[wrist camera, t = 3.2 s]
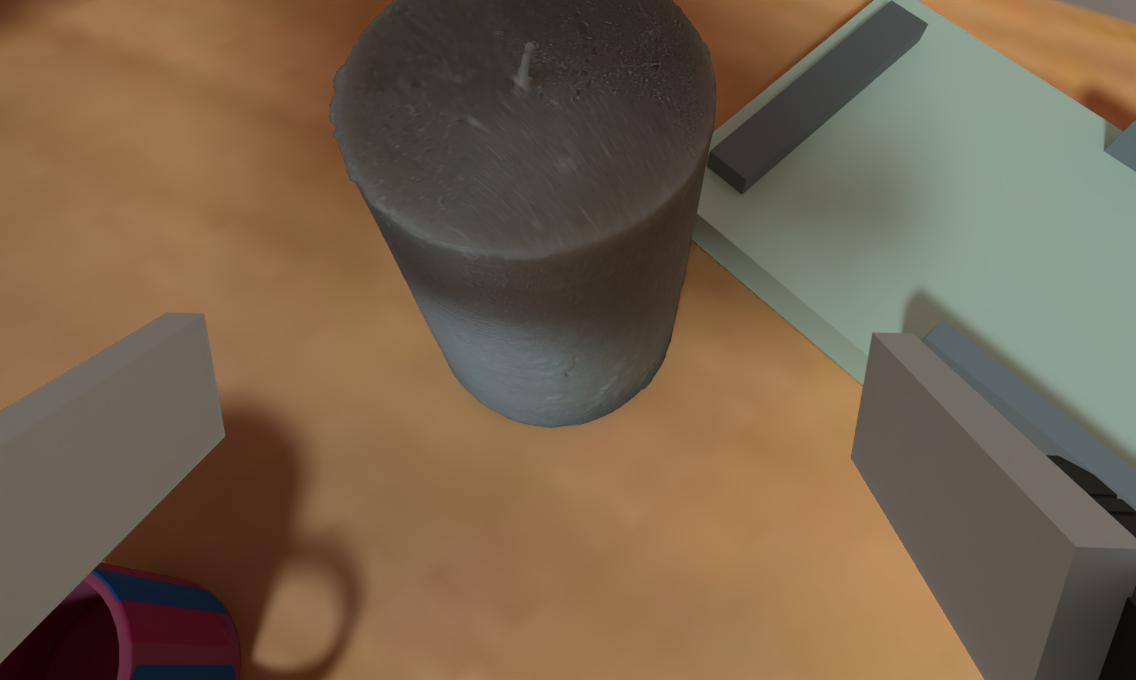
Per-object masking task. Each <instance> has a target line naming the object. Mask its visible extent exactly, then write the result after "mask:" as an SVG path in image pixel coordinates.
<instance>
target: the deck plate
mask: <svg viewBox="0 0 1136 680" xmlns="http://www.w3.org/2000/svg"><path fill="white" fill-rule="evenodd" d="M691 239H692V240H693V241H694V242H695V243H696V244H697V245H699V246H700V247H701V248H702V249H703V250H704V251H706V252H707V253H708V254H709V255H710V256H712V257H713V258H714V259H715V260H716V261H717V262H719V263H720V264H721V265H722V266H723V267H724V268H726V269H727V270H728V271H729V272H730V273H731V274H733V275H734V276H735V277H736V278H737V279H739V280H740V281H741V282H742V283H743V284H744V285H746V286H747V287H748V288H749V289H750V290H751V291H753V292H754V293H755V294H756V295H757V296H758V297H760V298H761V299H762V300H763V301H764V302H766V303H767V304H768V305H769V306H770V307H771V308H773V309H774V310H775V311H776V312H777V313H778V314H780V315H781V316H782V317H783V318H784V319H785V320H787V321H788V322H789V323H790V324H791V325H793V326H794V327H795V328H796V329H797V330H798V331H800V332H801V333H802V334H803V335H804V336H805V337H807V338H808V339H809V340H810V341H811V342H813V343H814V344H815V345H816V346H817V347H818V348H820V349H821V350H822V351H823V352H824V353H825V354H827V355H828V356H829V357H830V358H831V359H832V360H834V361H835V362H836V363H837V364H838V365H840V366H841V367H842V368H843V369H844V370H845V371H847V372H848V373H849V374H850V375H851V376H852V377H854V378H855V379H856V380H857V381H858V382H859V383H861V384H862V385H863V384H864V378H865V372H866V366H867V361H868V355H869V349H870V343H871V337H872V332H880V333H913V334H914V335H915V336H916V337H917V338H918V339H920V340H921V341H922V342H923V343H924V344H925V345H926V346H927V347H928V348H929V349H930V350H932V351H933V352H934V353H935V354H936V355H937V356H938V357H939V358H940V359H941V360H942V361H943V362H945V363H946V364H947V365H948V366H949V367H950V368H951V369H952V370H953V371H954V372H955V373H957V374H958V375H959V376H960V377H961V378H962V379H963V380H964V381H965V382H966V383H967V384H969V385H970V386H971V387H972V388H973V389H974V390H975V391H976V392H977V393H978V394H979V395H981V396H982V397H983V398H984V399H985V400H986V401H987V402H988V403H989V404H990V405H991V406H993V407H994V408H995V409H996V410H997V411H998V412H999V413H1000V414H1001V415H1002V416H1003V417H1004V418H1006V419H1007V420H1008V421H1009V422H1010V423H1011V424H1012V425H1013V426H1014V427H1015V428H1016V429H1018V430H1019V431H1020V432H1021V433H1022V434H1023V435H1024V436H1025V437H1026V438H1027V439H1028V440H1030V441H1031V442H1032V443H1033V444H1034V445H1035V446H1036V447H1037V448H1038V449H1039V450H1040V451H1042V452H1043V453H1044V454H1045V455H1057V456H1060V457H1062V458H1064V459H1066V460H1068V461H1070V462H1072V463H1074V464H1075V465H1077V466H1079V467H1081V468H1083V469H1085V470H1087V471H1089V472H1091V473H1092V474H1094V475H1095V476H1096V477H1097V478H1098V479H1100V480H1101V481H1102V482H1103V483H1104V484H1105V485H1107V486H1108V487H1109V488H1110V489H1111V490H1112V491H1113V492H1115V493H1116V494H1117V498H1118V499H1123V500H1124V501H1125V502H1126V503H1127V504H1128V505H1130V506H1131V507H1132V508H1133V509H1134V510H1135V511H1136V119H1135V120H1134V121H1133V122H1132V123H1131V124H1130V125H1129V126H1128V127H1127V128H1126V129H1125V130H1124V131H1122V130H1121V129H1119V128H1117V127H1116V126H1114V125H1113V124H1111V123H1110V122H1108V121H1106V120H1105V119H1103V118H1102V117H1100V116H1098V115H1097V114H1095V113H1094V112H1092V111H1091V110H1089V109H1087V108H1086V107H1084V106H1083V105H1081V104H1080V103H1078V102H1076V101H1075V100H1073V99H1072V98H1070V97H1069V96H1067V95H1065V94H1064V93H1062V92H1061V91H1059V90H1058V89H1056V88H1054V87H1053V86H1051V85H1050V84H1048V83H1047V82H1045V81H1043V80H1042V79H1040V78H1039V77H1037V76H1036V75H1034V74H1032V73H1031V72H1029V71H1028V70H1026V69H1025V68H1023V67H1021V66H1020V65H1018V64H1017V63H1015V62H1013V61H1012V60H1010V59H1009V58H1007V57H1006V56H1004V55H1002V54H1001V53H999V52H998V51H996V50H995V49H993V48H991V47H990V46H988V45H987V44H985V43H984V42H982V41H980V40H979V39H977V38H976V37H974V36H973V35H971V34H969V33H968V32H966V31H965V30H963V29H962V28H960V27H958V26H957V25H955V24H954V23H952V22H951V21H949V20H947V19H946V18H944V17H943V16H941V15H940V14H938V13H936V12H935V11H933V10H932V9H930V8H929V7H927V6H925V5H924V4H922V3H921V2H919V1H917V0H874V1H872V2H871V3H870V4H869V5H867V6H866V7H865V8H864V9H863V10H861V11H860V12H859V13H858V14H857V15H855V16H854V17H853V18H852V19H850V20H849V21H848V22H847V23H846V24H844V25H843V26H842V27H841V28H839V29H838V30H837V31H836V32H835V33H833V34H832V35H831V36H830V37H829V38H827V39H826V40H825V41H824V42H822V43H821V44H820V45H819V46H818V47H816V48H815V49H814V50H813V51H811V52H810V53H809V54H808V55H807V56H805V57H804V58H803V59H802V60H800V61H799V62H798V63H797V64H796V65H794V66H793V67H792V68H791V69H790V70H788V71H787V72H786V73H785V74H783V75H782V76H781V77H780V78H779V79H777V80H776V81H775V82H774V83H772V84H771V85H770V86H769V87H768V88H766V89H765V90H764V91H763V92H762V93H760V94H759V95H758V96H757V97H755V98H754V99H753V100H752V101H751V102H749V103H748V104H747V105H746V106H744V107H743V108H742V109H741V110H740V111H738V112H737V113H736V114H735V115H734V116H732V117H731V118H730V119H729V120H727V121H726V122H725V123H724V124H723V125H721V126H720V127H719V128H718V129H716V130H715V131H714V132H713V135H712V139H711V143H710V148H709V153H708V160H707V164H706V169H705V174H704V179H703V185H702V190H701V195H700V200H699V206H698V211H697V214H696V219H695V224H694V229H693V233H692V238H691Z"/></svg>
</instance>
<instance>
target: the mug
mask: <svg viewBox="0 0 1136 680" xmlns="http://www.w3.org/2000/svg"><path fill="white" fill-rule="evenodd" d="M239 673H240V646H239V641H238V637H237V632H236V629H235V626H234V624H233V622H232V619H231V617H230V615H229V614H228V612H227V611H226V609H225V608H224V606H223V605H222V603H221V602H220V601H219V600H218V599H217V598H216V597H214V596H213V595H212V594H211V593H210V592H209V591H207V590H205V589H204V588H202V587H200V586H199V585H197V584H194V583H191V582H189V581H186V580H183V579H178V578H173V577H168V576H163V575H158V574H153V573H148V572H144V571H139V570H134V569H129V568H124V567H119V566H114V565H109V564H105V563H99V564H98V565H97V566H96V567H95V568H94V569H93V570H92V571H91V572H90V573H89V574H88V575H87V576H86V577H85V578H84V579H83V580H82V581H81V582H80V583H79V585H78V586H77V587H76V588H75V589H74V590H73V591H72V592H71V593H70V594H69V595H68V596H67V597H66V598H65V599H64V600H63V601H62V602H61V603H60V604H59V605H58V606H57V607H56V608H55V609H54V610H53V611H52V612H51V613H50V614H49V615H48V616H47V617H46V618H45V619H44V620H43V621H42V622H41V623H40V624H39V625H38V626H37V627H36V628H35V629H34V630H33V631H32V632H31V633H30V634H29V635H28V636H27V637H26V638H25V639H24V640H23V641H22V642H21V643H20V644H19V645H18V646H17V647H16V648H15V649H14V650H13V651H12V652H11V653H10V654H9V655H8V656H7V657H6V658H5V659H4V660H3V661H2V662H1V663H0V680H239Z"/></svg>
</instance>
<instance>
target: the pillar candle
mask: <svg viewBox="0 0 1136 680" xmlns="http://www.w3.org/2000/svg"><path fill="white" fill-rule="evenodd" d="M333 82H334V85H333V87H334V89H335V91H336V92H335V95H334V96H333V97H332V101H331V103H330V115H329V117H330V120H331V123H332V124H333V125H334V126H335V131H334V133H333V137H334V138H335V139H336V140H337V141H338V143H339V148H340V151H341V153H342V155H343V158H344V161H345V164H346V166H347V173H348V175H349V178H350V180H351V181H354V182H356V184H357V186H358V188H359V190H360V192H361V194H362V196H363V198H364V200H365V202H366V204H367V205H368V207H369V209H370V211H371V213H372V215H373V217H374V219H375V221H376V223H377V225H378V227H379V229H380V231H381V233H382V235H383V237H384V239H385V241H386V243H387V244H388V246H389V248H390V250H391V252H392V254H393V256H394V258H395V260H396V262H397V264H398V266H399V268H400V270H401V273H402V274H403V276H404V278H405V280H406V282H407V284H408V286H409V288H410V290H411V292H412V294H413V296H414V298H415V300H416V302H417V304H418V306H419V309H420V311H421V312H422V314H423V316H424V318H425V321H426V322H427V324H428V326H429V328H430V330H431V332H432V334H433V336H434V338H435V340H436V341H437V343H438V345H439V347H440V349H441V350H442V352H443V354H444V356H445V359H446V361H447V362H448V365H449V367H450V368H451V370H452V372H453V374H454V375H455V377H456V378H457V379H458V381H459V382H460V383H461V384H462V386H463V387H464V388H465V389H466V390H467V391H469V392H470V393H471V394H472V395H473V396H474V397H475V398H476V399H477V400H479V402H481V403H482V404H483V405H485V406H487V407H488V408H490V409H492V410H493V411H495V412H497V413H499V414H501V415H503V416H505V417H507V418H509V419H512V420H515V421H518V422H520V423H525V424H530V425H535V426H544V427H550V428H552V427H560V426H567V425H580V424H584V423H587V422H590V421H593V420H595V419H598V418H600V417H603V416H605V415H607V414H609V413H611V412H613V411H614V410H616V409H618V408H620V407H621V406H622V405H624V404H625V403H627V402H628V401H629V400H630V399H631V398H633V397H634V396H635V395H636V394H637V393H638V392H639V391H640V390H642V389H644V388H646V387H647V386H648V385H649V383H650V382H651V381H652V379H653V377H654V376H655V374H656V373H657V371H658V370H659V368H660V367H661V365H662V363H663V361H664V359H665V357H666V352H667V349H668V347H669V344H670V342H671V337H672V330H673V324H674V320H675V316H676V312H677V308H678V303H679V298H680V291H681V287H682V285H683V282H684V277H685V272H686V266H687V260H688V254H689V249H690V243H691V238H692V233H693V229H694V224H695V219H696V214H697V211H698V206H699V200H700V195H701V190H702V185H703V179H704V174H705V169H706V164H707V160H708V153H709V148H710V143H711V139H712V135H713V129H714V122H715V109H716V84H715V77H714V70H713V67H712V64H711V60H710V53H709V50H708V47H707V45H706V44H705V43H704V42H703V41H702V39H701V37H700V35H699V33H698V31H697V30H696V29H695V28H694V27H693V26H692V24H691V22H690V21H689V20H688V18H687V16H686V15H685V14H684V13H683V11H682V9H681V8H680V7H679V6H676V4H675V3H674V2H673V1H672V0H394V1H393V2H392V3H391V4H390V5H389V6H387V7H386V9H385V10H384V11H383V12H382V13H380V14H379V15H378V16H377V17H376V18H375V19H374V20H373V21H372V22H371V24H370V25H369V26H368V27H367V28H366V29H365V30H364V31H363V33H362V35H361V36H360V38H359V40H358V42H357V44H356V45H355V46H354V47H353V49H352V51H351V53H350V56H349V57H348V58H347V60H346V62H345V64H344V65H343V66H341V67H340V69H339V71H337V72H336V75H335V77H334V80H333Z"/></svg>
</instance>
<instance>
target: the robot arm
mask: <svg viewBox="0 0 1136 680" xmlns="http://www.w3.org/2000/svg"><path fill="white" fill-rule="evenodd" d="M224 437H225V430H224V425H223V419H222V413H221V408H220V402H219V396H218V390H217V385H216V379H215V373H214V368H213V362H212V356H211V351H210V345H209V339H208V334H207V328H206V322H205V316H204V314H195V313H165V314H163V315H162V316H160V317H158V318H157V319H155V320H153V321H152V322H150V323H148V324H147V325H145V326H143V327H142V328H140V329H138V330H137V331H135V332H133V333H131V334H130V335H128V336H126V337H125V338H123V339H121V340H120V341H118V342H116V343H115V344H113V345H111V346H110V347H108V348H106V349H104V350H103V351H101V352H99V353H98V354H96V355H94V356H93V357H91V358H89V359H88V360H86V361H84V362H83V363H81V364H79V365H78V366H76V367H74V368H72V369H71V370H69V371H67V372H66V373H64V374H62V375H61V376H59V377H57V378H56V379H54V380H52V381H51V382H49V383H47V384H45V385H44V386H42V387H40V388H39V389H37V390H35V391H34V392H32V393H30V394H29V395H27V396H25V397H24V398H22V399H20V400H19V401H17V402H15V403H13V404H12V405H10V406H8V407H7V408H5V409H3V410H2V411H0V663H1V662H2V661H3V660H4V659H5V658H6V657H7V656H8V655H9V654H10V653H11V652H12V651H13V650H14V649H15V648H16V647H17V646H18V645H19V644H20V643H21V642H22V641H23V640H24V639H25V638H26V637H27V636H28V635H29V634H30V633H31V632H32V631H33V630H34V629H35V628H36V627H37V626H38V625H39V624H40V623H41V622H42V621H43V620H44V619H45V618H46V617H47V616H48V615H49V614H50V613H51V612H52V611H53V610H54V609H55V608H56V607H57V606H58V605H59V604H60V603H61V602H62V601H63V600H64V599H65V598H66V597H67V596H68V595H69V594H70V593H71V592H72V591H73V590H74V589H75V588H76V587H77V586H78V585H79V583H80V582H81V581H82V580H83V579H84V578H85V577H86V576H87V575H88V574H89V573H90V572H91V571H92V570H93V569H94V568H95V567H96V566H97V565H98V564H99V563H100V562H101V561H102V560H103V559H104V558H105V557H106V556H107V555H108V554H109V553H110V552H111V551H112V550H113V549H114V548H115V547H116V546H117V545H118V544H119V543H120V542H121V541H122V540H123V539H124V538H125V537H126V536H127V535H128V534H129V533H130V532H131V531H132V530H133V529H134V528H135V527H136V526H137V525H138V524H139V523H140V522H141V521H142V520H143V519H144V518H145V517H146V516H147V515H148V514H149V513H150V512H151V511H152V510H153V509H154V508H155V507H156V506H157V505H158V504H159V503H160V502H161V501H162V500H163V499H164V498H165V497H166V496H167V495H168V494H169V493H170V492H171V491H172V490H173V489H174V488H175V487H176V486H177V485H178V484H179V483H180V482H181V481H182V480H183V479H184V478H185V476H186V475H187V474H188V473H189V472H190V471H191V470H192V469H193V468H194V467H195V466H196V465H197V464H198V463H199V462H200V461H201V460H202V459H203V458H204V457H205V456H206V455H207V454H208V453H209V452H210V451H211V450H212V449H213V448H214V447H215V446H216V445H217V444H218V443H219V442H220V441H221V440H222V439H223V438H224ZM851 459H852V460H853V462H854V464H855V465H856V467H857V469H858V470H859V472H860V474H861V475H862V477H863V479H864V480H865V482H866V484H867V485H868V487H869V489H870V490H871V492H872V494H873V495H874V497H875V499H876V500H877V502H878V504H879V505H880V507H881V509H882V510H883V512H884V514H885V515H886V517H887V519H888V520H889V522H890V524H891V525H892V527H893V528H894V530H895V532H896V533H897V535H898V537H899V538H900V540H901V542H902V543H903V545H904V547H905V548H906V550H907V552H908V553H909V555H910V557H911V558H912V560H913V562H914V563H915V565H916V567H917V568H918V570H919V572H920V573H921V575H922V577H923V578H924V580H925V582H926V583H927V585H928V587H929V588H930V590H931V592H932V593H933V595H934V597H935V598H936V600H937V601H938V603H939V605H940V606H941V608H942V610H943V611H944V613H945V615H946V616H947V618H948V620H949V621H950V623H951V625H952V626H953V628H954V630H955V631H956V633H957V635H958V636H959V638H960V640H961V641H962V643H963V645H964V646H965V648H966V650H967V651H968V653H969V655H970V656H971V658H972V660H973V661H974V663H975V665H976V666H977V668H978V669H979V671H980V673H981V674H982V676H983V678H984V679H985V680H1136V511H1135V510H1134V509H1133V508H1132V507H1131V506H1130V505H1128V504H1127V503H1126V502H1125V501H1124V500H1123V499H1118V498H1117V494H1116V493H1115V492H1113V491H1112V490H1111V489H1110V488H1109V487H1108V486H1107V485H1105V484H1104V483H1103V482H1102V481H1101V480H1100V479H1098V478H1097V477H1096V476H1095V475H1094V474H1092V473H1091V472H1089V471H1087V470H1085V469H1083V468H1081V467H1079V466H1077V465H1075V464H1074V463H1072V462H1070V461H1068V460H1066V459H1064V458H1062V457H1060V456H1057V455H1045V454H1044V453H1043V452H1042V451H1040V450H1039V449H1038V448H1037V447H1036V446H1035V445H1034V444H1033V443H1032V442H1031V441H1030V440H1028V439H1027V438H1026V437H1025V436H1024V435H1023V434H1022V433H1021V432H1020V431H1019V430H1018V429H1016V428H1015V427H1014V426H1013V425H1012V424H1011V423H1010V422H1009V421H1008V420H1007V419H1006V418H1004V417H1003V416H1002V415H1001V414H1000V413H999V412H998V411H997V410H996V409H995V408H994V407H993V406H991V405H990V404H989V403H988V402H987V401H986V400H985V399H984V398H983V397H982V396H981V395H979V394H978V393H977V392H976V391H975V390H974V389H973V388H972V387H971V386H970V385H969V384H967V383H966V382H965V381H964V380H963V379H962V378H961V377H960V376H959V375H958V374H957V373H955V372H954V371H953V370H952V369H951V368H950V367H949V366H948V365H947V364H946V363H945V362H943V361H942V360H941V359H940V358H939V357H938V356H937V355H936V354H935V353H934V352H933V351H932V350H930V349H929V348H928V347H927V346H926V345H925V344H924V343H923V342H922V341H921V340H920V339H918V338H917V337H916V336H915V335H914V334H913V333H880V332H872V337H871V343H870V349H869V355H868V361H867V366H866V372H865V378H864V384H863V390H862V395H861V401H860V407H859V413H858V419H857V425H856V430H855V436H854V442H853V448H852V454H851Z"/></svg>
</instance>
